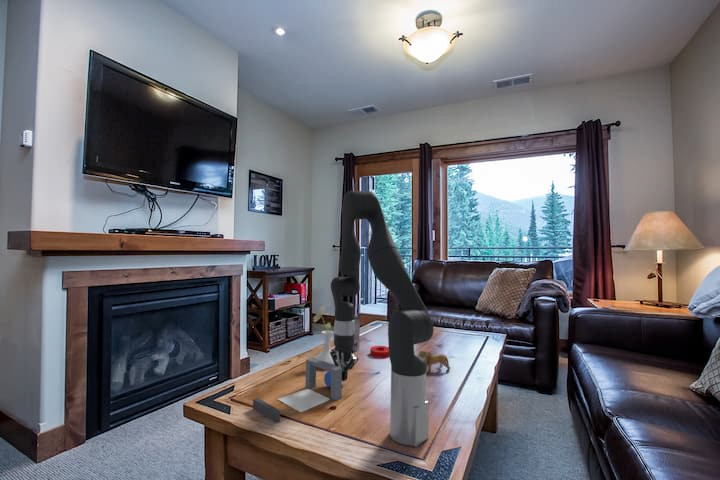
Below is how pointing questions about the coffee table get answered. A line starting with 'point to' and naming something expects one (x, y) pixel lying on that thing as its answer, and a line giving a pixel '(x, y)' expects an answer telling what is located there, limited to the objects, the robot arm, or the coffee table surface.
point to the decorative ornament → (379, 351)
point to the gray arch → (335, 370)
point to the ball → (327, 379)
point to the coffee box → (356, 333)
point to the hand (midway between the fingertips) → (343, 380)
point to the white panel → (303, 400)
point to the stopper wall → (266, 409)
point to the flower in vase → (325, 353)
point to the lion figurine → (434, 360)
